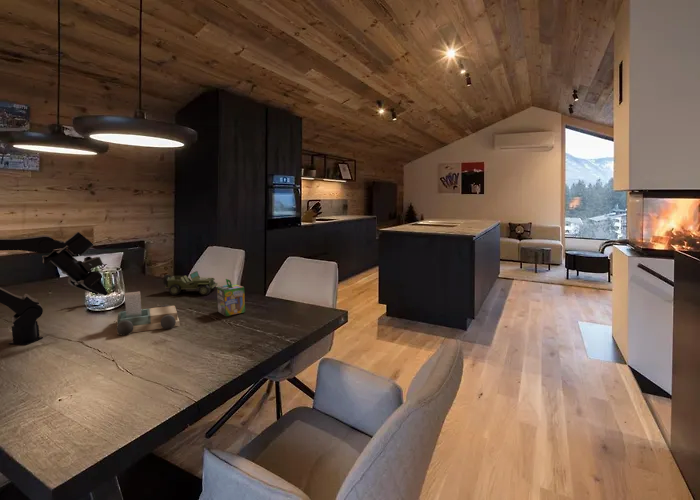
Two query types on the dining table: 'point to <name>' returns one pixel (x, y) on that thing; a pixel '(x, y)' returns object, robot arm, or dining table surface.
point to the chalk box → (230, 299)
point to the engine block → (133, 304)
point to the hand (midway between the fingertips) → (102, 293)
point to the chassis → (148, 320)
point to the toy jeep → (189, 283)
